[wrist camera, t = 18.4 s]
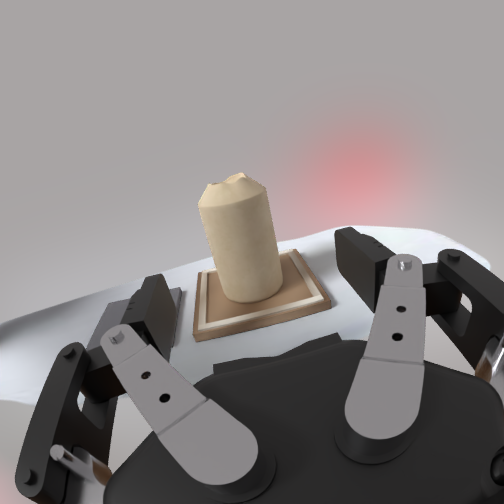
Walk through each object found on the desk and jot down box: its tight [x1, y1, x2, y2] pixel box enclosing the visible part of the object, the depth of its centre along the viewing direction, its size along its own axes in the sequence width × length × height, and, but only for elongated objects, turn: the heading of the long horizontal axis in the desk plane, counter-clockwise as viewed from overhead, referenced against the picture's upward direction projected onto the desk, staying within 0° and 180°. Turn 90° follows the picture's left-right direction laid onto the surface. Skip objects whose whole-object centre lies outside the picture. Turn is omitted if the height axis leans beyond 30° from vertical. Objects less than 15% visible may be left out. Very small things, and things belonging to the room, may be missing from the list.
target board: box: [193, 249, 331, 342], centre depth 25 cm, size 11×10×1 cm
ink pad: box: [86, 287, 182, 351], centre depth 24 cm, size 9×9×1 cm
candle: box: [198, 173, 283, 303], centre depth 23 cm, size 6×6×10 cm
